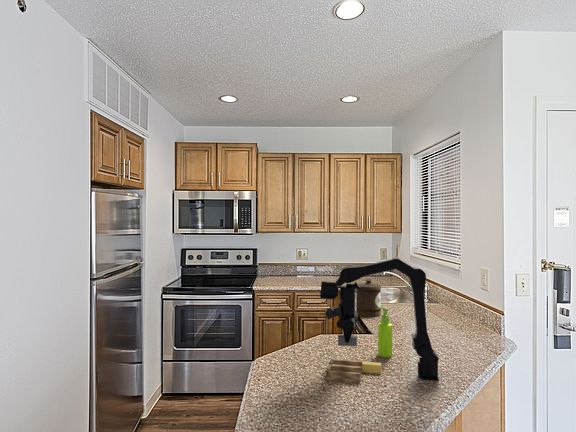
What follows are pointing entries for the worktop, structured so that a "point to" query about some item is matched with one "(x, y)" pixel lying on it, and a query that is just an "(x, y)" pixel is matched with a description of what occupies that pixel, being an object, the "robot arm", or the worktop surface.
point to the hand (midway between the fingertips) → (347, 341)
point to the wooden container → (368, 299)
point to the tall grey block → (351, 342)
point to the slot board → (344, 370)
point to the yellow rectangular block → (371, 367)
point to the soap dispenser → (384, 335)
